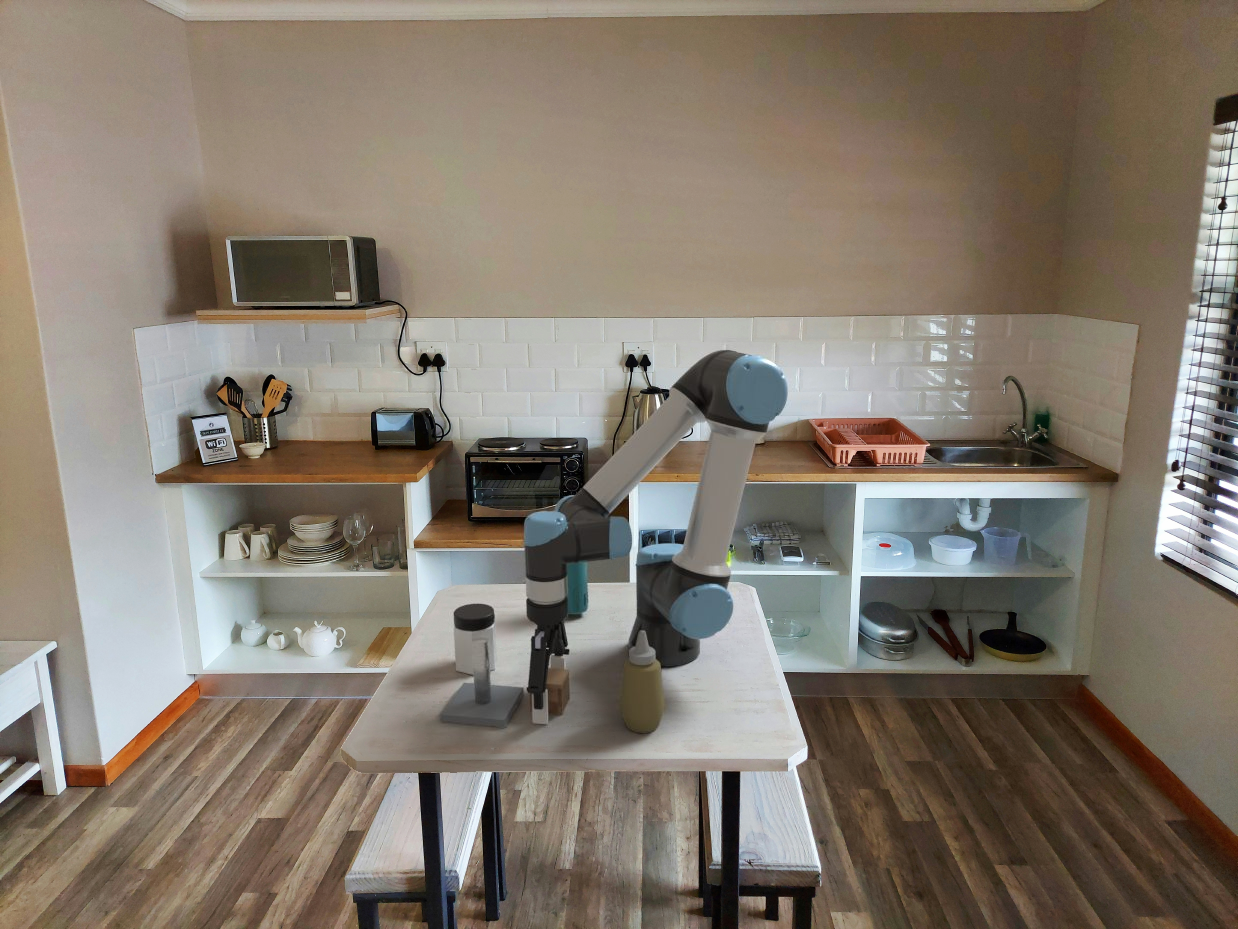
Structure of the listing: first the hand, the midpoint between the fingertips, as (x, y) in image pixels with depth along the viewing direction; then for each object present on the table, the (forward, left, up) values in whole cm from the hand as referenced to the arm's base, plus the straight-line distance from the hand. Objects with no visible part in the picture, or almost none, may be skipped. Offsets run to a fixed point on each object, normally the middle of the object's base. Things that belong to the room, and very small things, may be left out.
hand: (549, 704), depth 161 cm
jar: (+19, -13, 0) cm, 23 cm away
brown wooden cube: (0, 0, 0) cm, 0 cm away
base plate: (+12, +3, 0) cm, 12 cm away
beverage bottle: (+5, -41, 0) cm, 41 cm away
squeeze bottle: (-18, +4, 0) cm, 19 cm away
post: (+12, +3, +1) cm, 12 cm away
